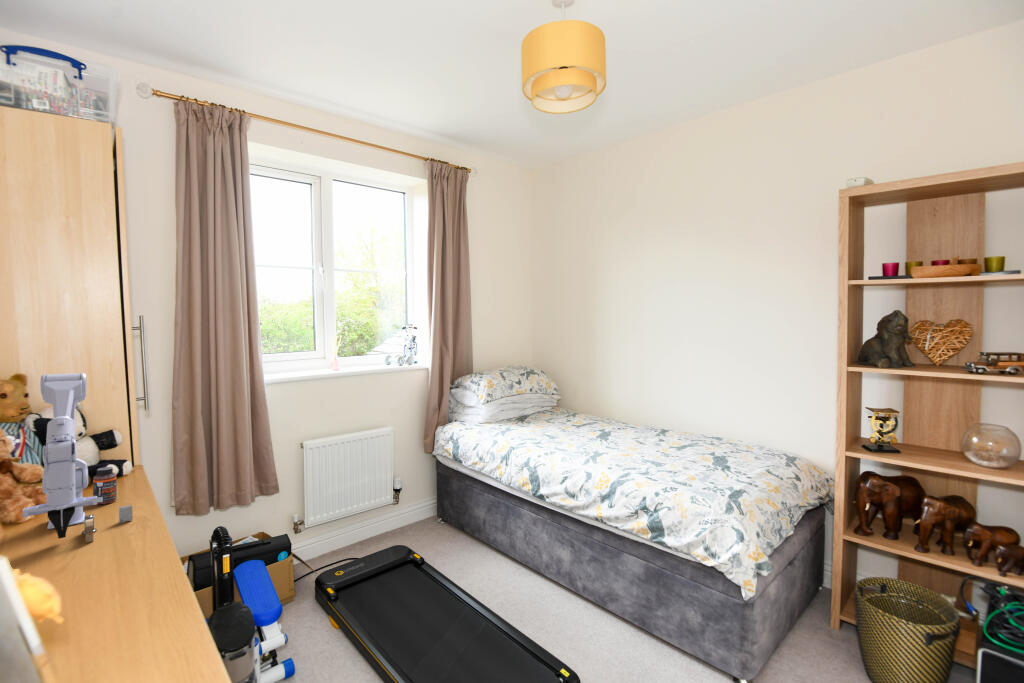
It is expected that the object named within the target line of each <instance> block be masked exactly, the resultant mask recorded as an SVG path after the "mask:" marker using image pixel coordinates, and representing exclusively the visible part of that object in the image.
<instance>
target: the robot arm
mask: <svg viewBox="0 0 1024 683" xmlns="http://www.w3.org/2000/svg"><path fill="white" fill-rule="evenodd" d="M39 384H40V394H41V396H42V400H43V401H44V403H46V404H49V405H52V411H53V412H52V414H53V419H50V421H48V422H47V425H46V438H45V440H46V442H45V445H43V447H42V461H43V464H44V468H43V471H42V473H43V475H42V478H41V479H42V481H41V484H42V485H41V486H42V488H41V489H42V493H43V494H44V495H46V503H42V504H38V505H33V506H29V507H24V508H23V509H22V519H23V518H28V517H30V516H35V515H42V514H47V519H48V524H47V528H46V529H47V530H52V529H55V531H56V533H57V538H58V539H59V540H60V539H63V538H66V536H67V530H68V526H73V525H78V524H82V523H85V521H84V517H85V516H86V512H85V511H84V507H87V506H96V505H97V496H87V497H84V496H83V493H84V492H83V491H84V489H86V488H88V487H89V486H88V485H89V468H88V464H87V462H86V461H85V460H82V459H81V458H78V443H77V441H76V440H77V439H76V408H77V406H78V403H80V402H82V401H85V400H86V397H87V374H86V373H85V372H81V373H80V372H79V373H78V372H77V373H76V372H75V373H56V374H55V373H53V374H46V373H44V374H42V375H41V376H40V383H39ZM97 506H98V505H97Z"/></svg>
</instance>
